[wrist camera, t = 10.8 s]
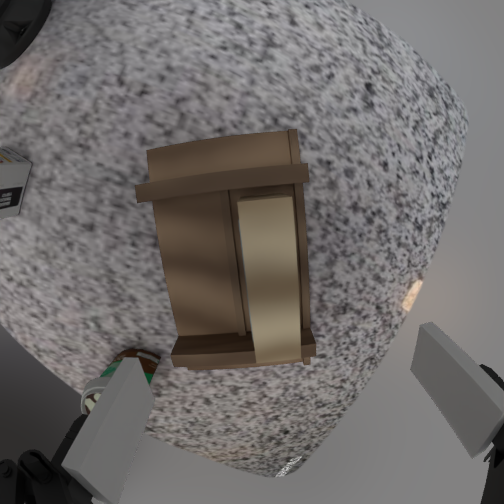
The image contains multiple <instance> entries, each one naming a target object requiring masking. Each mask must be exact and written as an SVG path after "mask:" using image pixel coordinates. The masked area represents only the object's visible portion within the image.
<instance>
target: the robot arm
mask: <svg viewBox="0 0 504 504" xmlns="http://www.w3.org/2000/svg"><path fill="white" fill-rule="evenodd" d="M50 8H51V0H0V69H1V68H4V67H6V66H7V65H9V64H10V63H12V62H13V61H14V60H15V59H16V58H17V57H18V56H19V55H20V54H21V53H22V52H23V51H24V50H25V49H26V48H27V47H28V45H29V44H30V43H31V42H32V40H33V39H34V37H35V36H36V35H37V33H38V32H39V30H40V29H41V27H42V25H43V24H44V22H45V20H46V18H47V16H48V14H49V11H50ZM410 370H411V371H412V373H413V374H414V375H415V377H416V378H417V379H418V380H419V382H420V383H421V385H422V386H423V387H424V389H425V390H426V392H427V393H428V394H429V396H430V397H431V399H432V400H433V401H434V403H435V404H436V406H437V407H438V408H439V410H440V411H441V413H442V414H443V416H444V417H445V418H446V420H447V422H448V423H449V425H450V426H451V427H452V429H453V430H454V432H455V433H456V435H457V436H458V438H459V440H460V441H461V443H462V444H463V446H464V447H465V449H466V450H467V452H468V453H469V455H470V457H471V458H472V459H473V458H474V457H476V456H478V455H479V454H480V453H482V452H484V451H485V450H486V449H487V447H488V446H489V445H490V443H491V442H493V444H494V447H493V448H492V449H491V450H490V452H489V453H488V454H487V456H486V457H485V459H484V462H486V460H487V459H488V458H489V457H490V456H491V457H490V460H489V462H490V464H489V470H488V475H487V479H486V484H485V488H484V492H483V496H482V500H481V504H504V382H503V380H502V379H501V378H500V377H498V375H497V374H496V373H495V372H494V371H493V370H492V369H491V368H489V367H487V366H485V365H483V364H481V365H478V364H477V363H475V361H474V360H473V359H472V358H471V357H470V356H469V355H468V354H467V353H466V352H464V351H463V350H462V349H461V348H460V347H459V346H458V345H457V344H456V343H455V342H454V341H453V340H452V339H450V338H449V337H448V336H447V335H446V334H445V333H444V332H443V331H441V329H440V328H438V327H437V326H436V325H435V324H434V323H433V322H429V323H425V324H422V325H420V328H419V333H418V339H417V344H416V348H415V352H414V357H413V361H412V365H411V369H410ZM154 402H155V398H154V396H153V394H152V391H151V389H150V387H149V384H148V382H147V379H146V377H145V374H144V372H143V369H142V366H141V364H140V361H139V358H130V357H124V358H123V360H122V362H121V363H120V365H119V366H118V368H117V369H116V371H115V373H114V374H113V376H112V377H111V379H110V381H109V382H108V384H107V386H106V387H105V389H104V391H103V392H102V394H101V395H100V397H99V399H98V400H97V402H96V404H95V405H94V407H93V409H92V411H91V412H90V414H89V415H86V414H82V415H81V416H80V417H79V418H77V419H76V420H75V421H74V423H73V424H72V426H71V428H70V431H68V433H67V434H66V436H65V437H66V438H64V439H63V441H62V443H61V444H60V446H59V448H58V450H57V451H56V453H55V455H54V457H53V458H52V461H51V462H50V461H49V460H48V459H47V458H46V457H45V456H44V455H43V454H42V453H41V452H40V451H38V450H28V451H26V452H24V453H23V454H22V455H21V456H20V458H19V459H18V466H17V465H16V463H14V462H13V461H12V460H9V459H5V460H2V461H0V504H24V503H25V504H93V503H92V502H91V499H92V497H95V498H96V499H97V500H98V501H99V502H101V503H104V504H118V503H119V500H120V497H121V494H122V491H123V488H124V485H125V482H126V479H127V476H128V473H129V470H130V468H131V465H132V462H133V459H134V456H135V453H136V451H137V448H138V445H139V442H140V439H141V437H142V434H143V431H144V429H145V426H146V423H147V421H148V418H149V415H150V413H151V410H152V407H153V405H154Z"/></svg>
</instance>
